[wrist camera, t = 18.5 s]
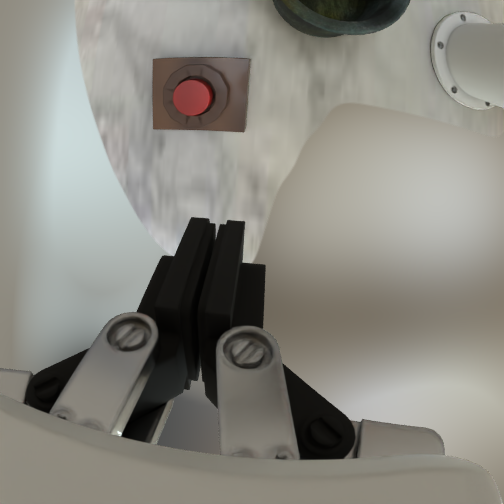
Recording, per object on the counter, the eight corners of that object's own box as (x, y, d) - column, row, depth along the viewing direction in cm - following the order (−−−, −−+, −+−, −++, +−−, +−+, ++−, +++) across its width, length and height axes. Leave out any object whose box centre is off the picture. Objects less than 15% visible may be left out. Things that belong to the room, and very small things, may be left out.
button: (213, 78, 27) (210, 80, 26) (212, 113, 30) (209, 116, 28) (177, 78, 28) (172, 80, 26) (177, 112, 30) (172, 115, 28)
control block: (250, 58, 29) (248, 58, 26) (245, 127, 34) (242, 136, 30) (159, 58, 29) (146, 59, 26) (159, 125, 34) (147, 133, 31)
